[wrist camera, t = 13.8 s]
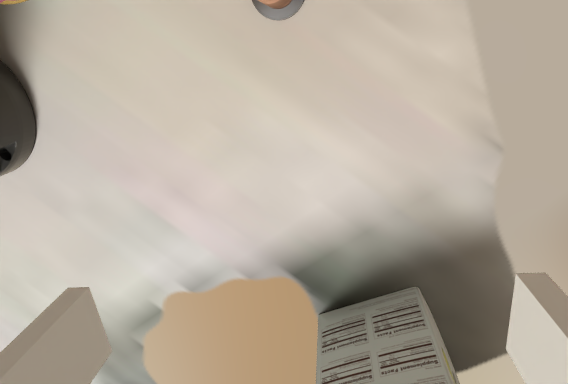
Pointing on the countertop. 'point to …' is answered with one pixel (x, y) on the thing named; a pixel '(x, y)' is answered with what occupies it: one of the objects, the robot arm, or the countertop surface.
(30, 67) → the countertop surface
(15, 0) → the cupcake
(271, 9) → the tethered block
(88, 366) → the robot arm
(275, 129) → the countertop surface
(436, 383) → the supplement box
